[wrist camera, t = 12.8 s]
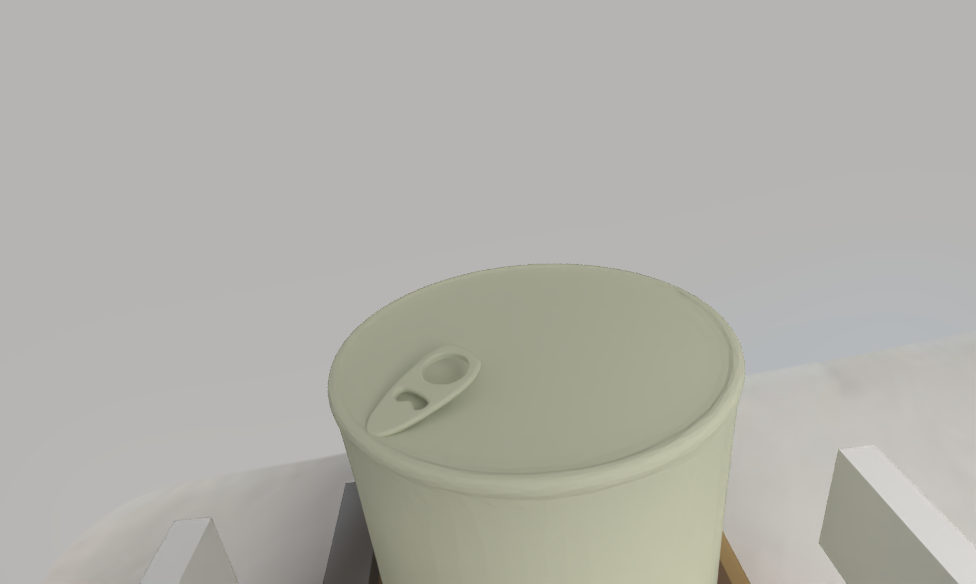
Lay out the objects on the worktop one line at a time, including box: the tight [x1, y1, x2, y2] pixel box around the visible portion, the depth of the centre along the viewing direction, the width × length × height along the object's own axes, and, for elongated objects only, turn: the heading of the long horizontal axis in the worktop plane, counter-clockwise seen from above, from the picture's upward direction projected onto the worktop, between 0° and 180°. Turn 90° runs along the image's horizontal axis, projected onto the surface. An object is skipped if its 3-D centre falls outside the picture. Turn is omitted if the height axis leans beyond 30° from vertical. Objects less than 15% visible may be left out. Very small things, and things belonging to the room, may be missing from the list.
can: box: [328, 264, 745, 584], centre depth 16 cm, size 9×9×12 cm
